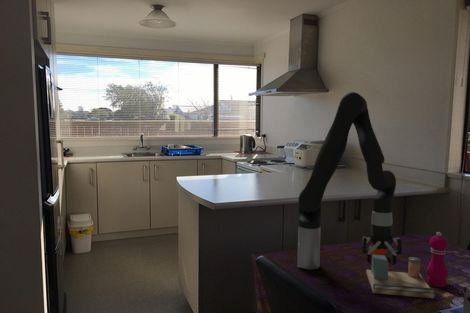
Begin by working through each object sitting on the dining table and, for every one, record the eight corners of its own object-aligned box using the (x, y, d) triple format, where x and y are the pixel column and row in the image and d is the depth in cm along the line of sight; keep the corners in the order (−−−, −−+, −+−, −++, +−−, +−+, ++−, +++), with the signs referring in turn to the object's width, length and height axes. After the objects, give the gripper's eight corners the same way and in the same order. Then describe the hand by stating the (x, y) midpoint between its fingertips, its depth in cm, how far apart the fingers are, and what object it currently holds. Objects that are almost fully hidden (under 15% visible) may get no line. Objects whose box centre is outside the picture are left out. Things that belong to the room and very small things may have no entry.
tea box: (374, 278, 143) (374, 261, 143) (371, 271, 150) (372, 254, 150) (388, 280, 142) (388, 262, 142) (384, 272, 149) (385, 255, 149)
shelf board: (373, 293, 135) (373, 284, 135) (366, 273, 153) (366, 265, 152) (434, 298, 131) (434, 289, 131) (419, 277, 149) (420, 269, 148)
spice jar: (409, 277, 145) (410, 260, 144) (406, 273, 149) (407, 256, 148) (421, 278, 144) (421, 261, 143) (418, 274, 148) (418, 257, 147)
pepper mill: (446, 289, 138) (449, 235, 136) (424, 285, 142) (427, 232, 140) (447, 282, 144) (450, 231, 143) (426, 278, 148) (429, 228, 146)
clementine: (389, 260, 167) (390, 245, 167) (374, 260, 167) (374, 244, 167) (383, 254, 175) (383, 239, 174) (368, 254, 175) (368, 239, 175)
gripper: (399, 220, 147) (398, 261, 149) (361, 219, 150) (360, 259, 151) (404, 226, 140) (403, 268, 141) (363, 224, 143) (363, 266, 144)
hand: (381, 263), depth 146 cm, fingers open, 8 cm apart
